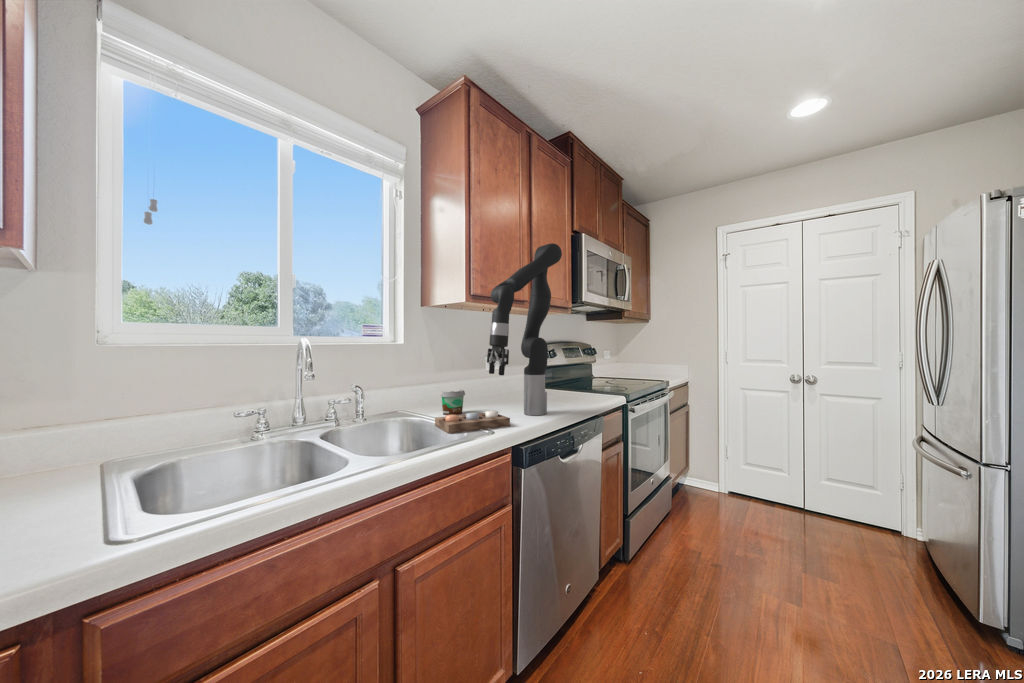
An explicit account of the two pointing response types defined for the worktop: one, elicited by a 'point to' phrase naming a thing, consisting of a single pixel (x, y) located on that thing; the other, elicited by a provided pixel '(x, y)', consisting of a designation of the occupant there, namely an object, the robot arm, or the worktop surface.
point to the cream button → (491, 414)
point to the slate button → (472, 416)
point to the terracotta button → (451, 418)
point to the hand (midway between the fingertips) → (496, 374)
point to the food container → (452, 402)
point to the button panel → (471, 423)
